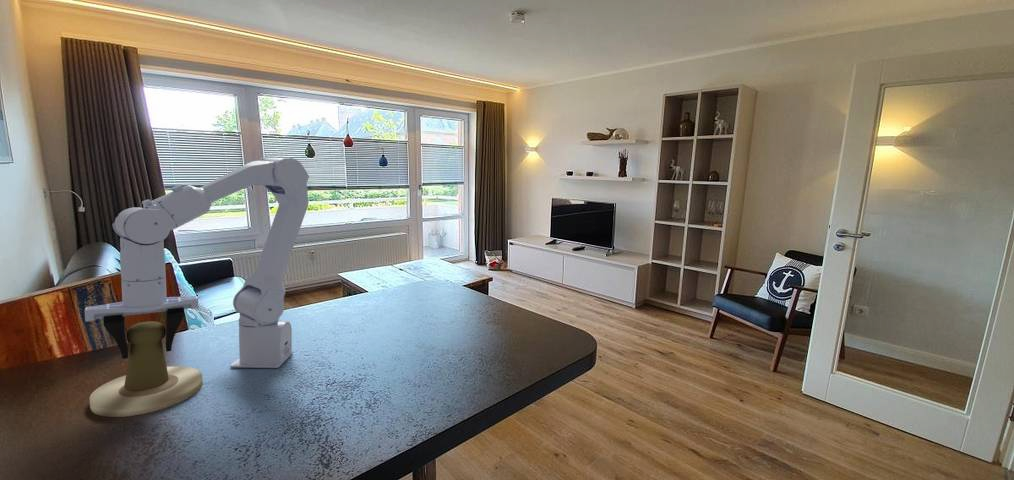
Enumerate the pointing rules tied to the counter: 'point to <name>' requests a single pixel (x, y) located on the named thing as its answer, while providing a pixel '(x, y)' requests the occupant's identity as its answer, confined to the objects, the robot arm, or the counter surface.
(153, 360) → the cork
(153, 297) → the robot arm
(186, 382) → the birch stand
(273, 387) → the counter surface
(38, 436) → the counter surface
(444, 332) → the counter surface
